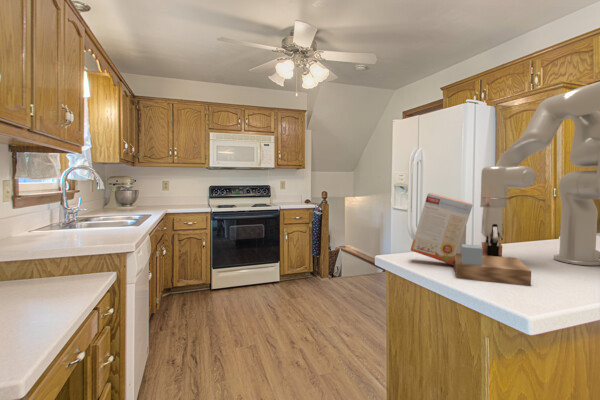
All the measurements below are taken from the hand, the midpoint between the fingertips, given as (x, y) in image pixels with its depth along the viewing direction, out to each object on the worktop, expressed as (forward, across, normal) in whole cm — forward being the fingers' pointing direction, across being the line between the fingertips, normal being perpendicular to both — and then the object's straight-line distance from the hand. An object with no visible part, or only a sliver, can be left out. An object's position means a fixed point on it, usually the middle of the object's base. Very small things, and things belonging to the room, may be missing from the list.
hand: (491, 255), depth 108 cm
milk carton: (+3, -6, -12) cm, 14 cm away
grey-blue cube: (-1, +20, -8) cm, 22 cm away
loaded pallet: (+3, 0, 0) cm, 3 cm away
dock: (+3, +15, -3) cm, 16 cm away
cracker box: (+1, +7, -19) cm, 20 cm away
